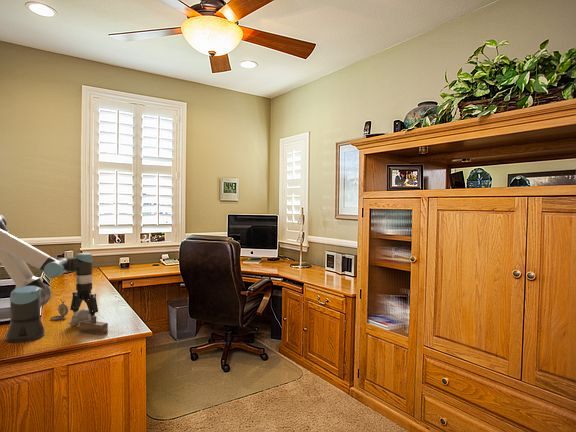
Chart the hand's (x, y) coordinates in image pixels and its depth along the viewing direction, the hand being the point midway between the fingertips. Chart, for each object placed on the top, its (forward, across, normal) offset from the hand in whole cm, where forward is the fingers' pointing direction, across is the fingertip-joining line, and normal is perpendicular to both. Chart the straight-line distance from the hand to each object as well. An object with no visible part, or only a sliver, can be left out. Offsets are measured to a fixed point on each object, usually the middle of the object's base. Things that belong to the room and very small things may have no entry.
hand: (84, 324), depth 198 cm
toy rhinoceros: (+1, +1, 0) cm, 1 cm away
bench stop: (0, -14, +7) cm, 16 cm away
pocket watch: (0, +22, -4) cm, 22 cm away
